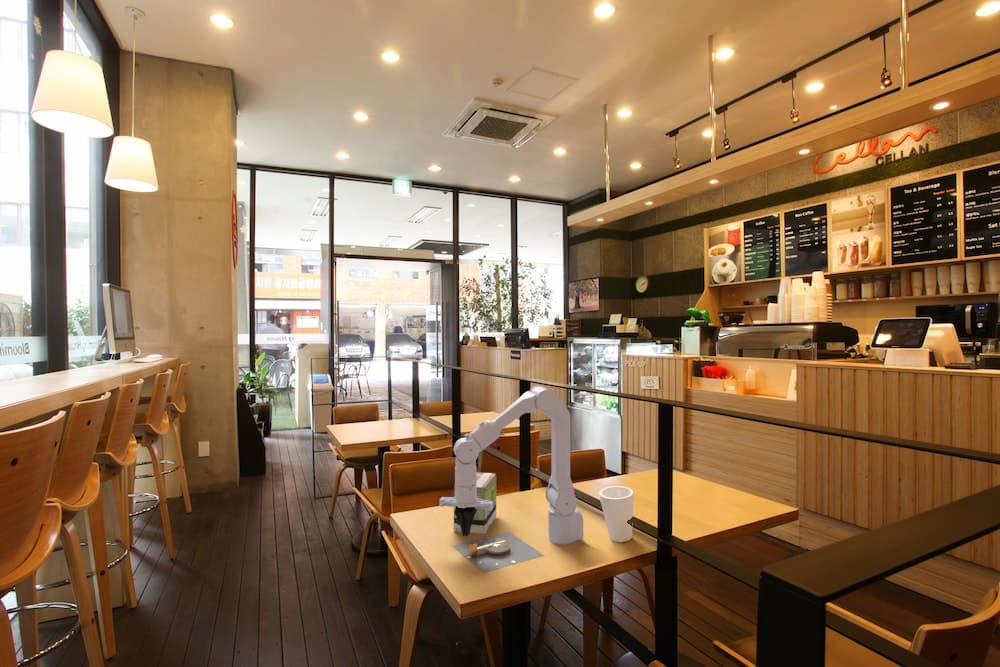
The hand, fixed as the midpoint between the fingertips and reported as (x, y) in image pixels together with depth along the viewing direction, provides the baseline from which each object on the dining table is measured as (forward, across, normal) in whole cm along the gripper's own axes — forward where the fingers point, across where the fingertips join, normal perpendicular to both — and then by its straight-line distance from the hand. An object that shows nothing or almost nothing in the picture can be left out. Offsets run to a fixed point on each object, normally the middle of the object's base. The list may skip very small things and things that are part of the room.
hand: (466, 534), depth 138 cm
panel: (+5, +8, +1) cm, 10 cm away
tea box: (+5, -3, +18) cm, 19 cm away
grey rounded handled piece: (+4, +7, 0) cm, 8 cm away
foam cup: (+5, +40, +20) cm, 44 cm away
